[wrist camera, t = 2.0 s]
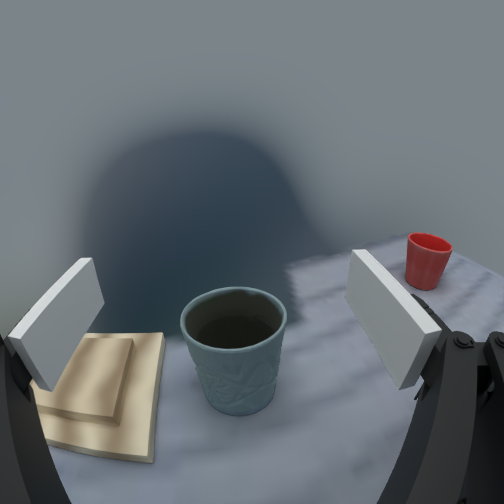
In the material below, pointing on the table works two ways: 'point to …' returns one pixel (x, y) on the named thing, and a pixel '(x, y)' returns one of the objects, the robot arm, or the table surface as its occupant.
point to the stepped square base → (106, 397)
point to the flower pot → (426, 260)
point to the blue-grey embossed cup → (235, 346)
